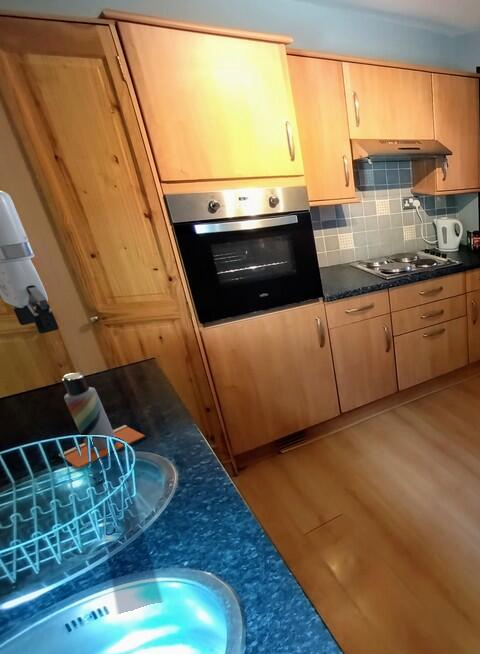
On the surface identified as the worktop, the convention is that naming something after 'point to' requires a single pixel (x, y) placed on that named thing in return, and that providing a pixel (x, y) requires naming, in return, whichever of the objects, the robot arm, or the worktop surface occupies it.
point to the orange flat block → (121, 432)
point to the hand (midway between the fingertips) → (39, 327)
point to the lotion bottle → (86, 410)
